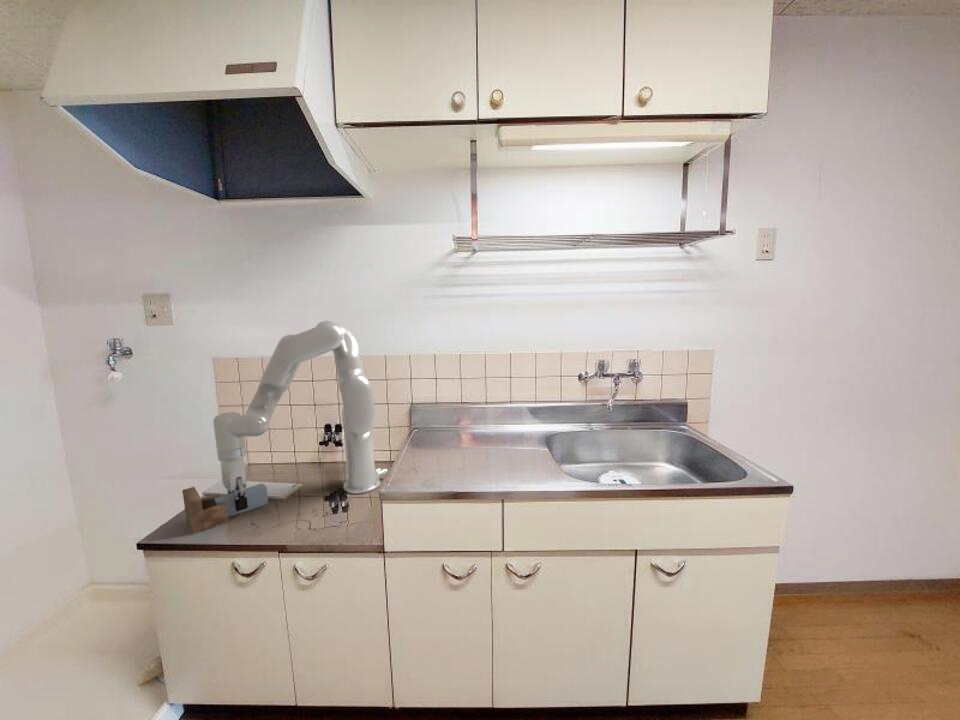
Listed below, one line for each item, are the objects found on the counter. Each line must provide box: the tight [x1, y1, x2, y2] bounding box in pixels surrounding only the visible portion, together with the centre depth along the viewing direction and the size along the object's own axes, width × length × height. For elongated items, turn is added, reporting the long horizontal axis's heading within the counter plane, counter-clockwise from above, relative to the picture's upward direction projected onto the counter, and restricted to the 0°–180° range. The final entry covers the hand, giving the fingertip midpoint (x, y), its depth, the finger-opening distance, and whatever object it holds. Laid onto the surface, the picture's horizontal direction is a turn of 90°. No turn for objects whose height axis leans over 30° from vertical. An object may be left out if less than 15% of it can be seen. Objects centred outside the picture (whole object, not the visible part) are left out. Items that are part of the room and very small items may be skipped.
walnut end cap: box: [182, 486, 230, 534], centre depth 123 cm, size 9×10×10 cm
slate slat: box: [214, 483, 269, 518], centre depth 130 cm, size 4×14×6 cm, turn 134°
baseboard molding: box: [201, 480, 303, 500], centre depth 144 cm, size 31×3×12 cm
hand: (238, 504), depth 129 cm, fingers open, 7 cm apart
